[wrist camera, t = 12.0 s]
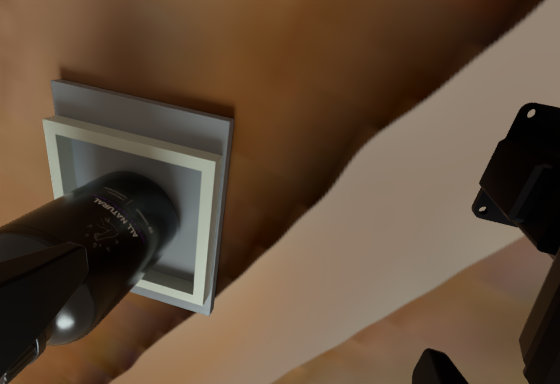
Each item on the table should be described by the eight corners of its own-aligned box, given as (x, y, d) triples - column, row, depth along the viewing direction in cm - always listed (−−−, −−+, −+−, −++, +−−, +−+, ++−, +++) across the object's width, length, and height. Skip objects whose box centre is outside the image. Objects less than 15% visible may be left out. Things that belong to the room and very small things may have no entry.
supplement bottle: (182, 179, 22) (11, 316, 11) (181, 261, 25) (47, 430, 14) (89, 157, 22) (-153, 264, 12) (99, 238, 26) (-86, 382, 15)
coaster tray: (234, 118, 20) (222, 126, 18) (213, 308, 27) (203, 327, 25) (60, 79, 21) (33, 82, 20) (83, 269, 29) (65, 284, 27)
